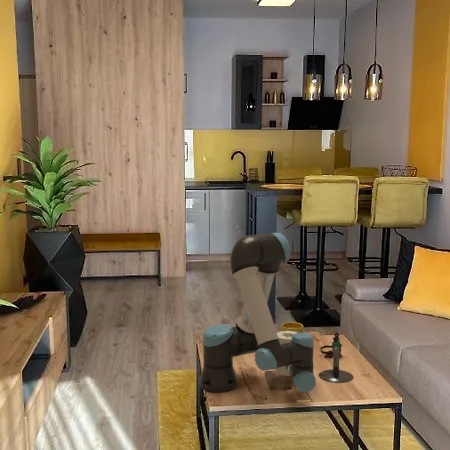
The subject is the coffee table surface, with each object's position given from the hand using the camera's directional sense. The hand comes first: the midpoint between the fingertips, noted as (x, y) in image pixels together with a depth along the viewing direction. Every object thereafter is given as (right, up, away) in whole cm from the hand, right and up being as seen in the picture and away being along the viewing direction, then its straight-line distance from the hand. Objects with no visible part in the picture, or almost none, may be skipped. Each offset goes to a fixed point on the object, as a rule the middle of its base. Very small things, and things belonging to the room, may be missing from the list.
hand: (286, 347), depth 239 cm
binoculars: (+22, -10, +22) cm, 33 cm away
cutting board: (0, -13, -2) cm, 13 cm away
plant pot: (+7, -7, +39) cm, 40 cm away
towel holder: (+20, -13, -1) cm, 24 cm away
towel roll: (0, -9, -3) cm, 10 cm away
